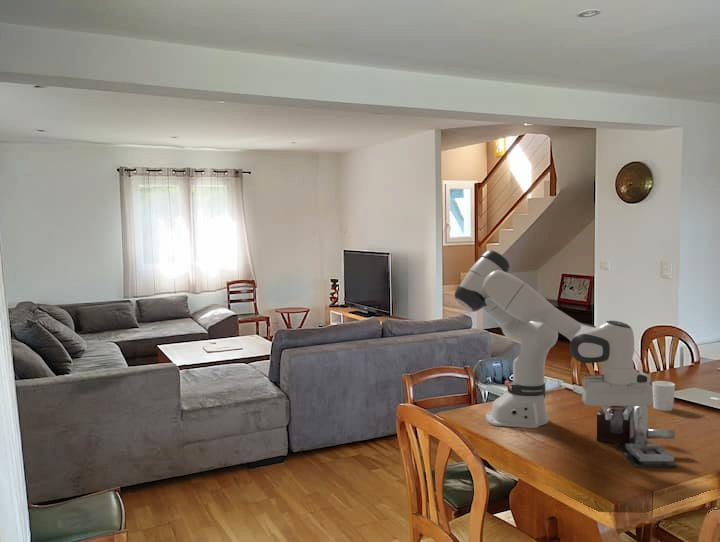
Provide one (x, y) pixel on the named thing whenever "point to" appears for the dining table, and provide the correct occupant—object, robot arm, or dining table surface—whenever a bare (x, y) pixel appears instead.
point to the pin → (616, 419)
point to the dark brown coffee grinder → (614, 438)
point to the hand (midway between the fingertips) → (616, 419)
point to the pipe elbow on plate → (643, 452)
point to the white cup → (663, 395)
